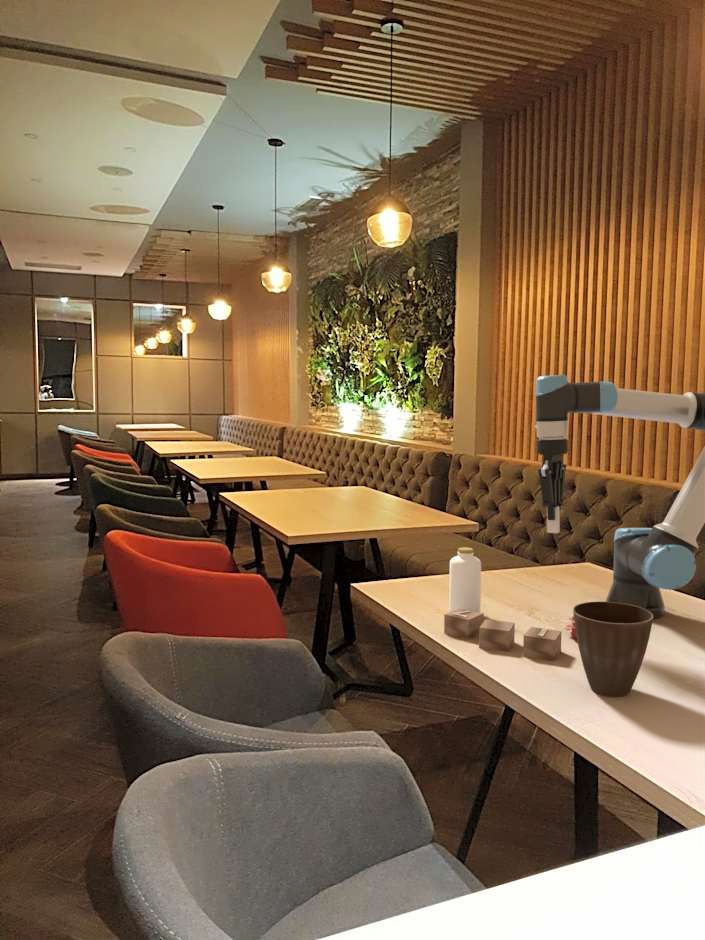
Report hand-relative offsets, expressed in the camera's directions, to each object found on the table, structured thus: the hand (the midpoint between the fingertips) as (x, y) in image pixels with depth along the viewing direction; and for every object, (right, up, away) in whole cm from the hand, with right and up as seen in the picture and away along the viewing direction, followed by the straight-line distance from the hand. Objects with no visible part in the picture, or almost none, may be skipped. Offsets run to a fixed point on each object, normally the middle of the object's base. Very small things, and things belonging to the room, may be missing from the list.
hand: (553, 532), depth 184 cm
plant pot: (+1, -28, -38) cm, 47 cm away
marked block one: (-7, -26, -17) cm, 32 cm away
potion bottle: (-20, -24, +14) cm, 34 cm away
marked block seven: (-23, -25, -1) cm, 34 cm away
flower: (+6, -25, -5) cm, 27 cm away
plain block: (-16, -26, -10) cm, 32 cm away
